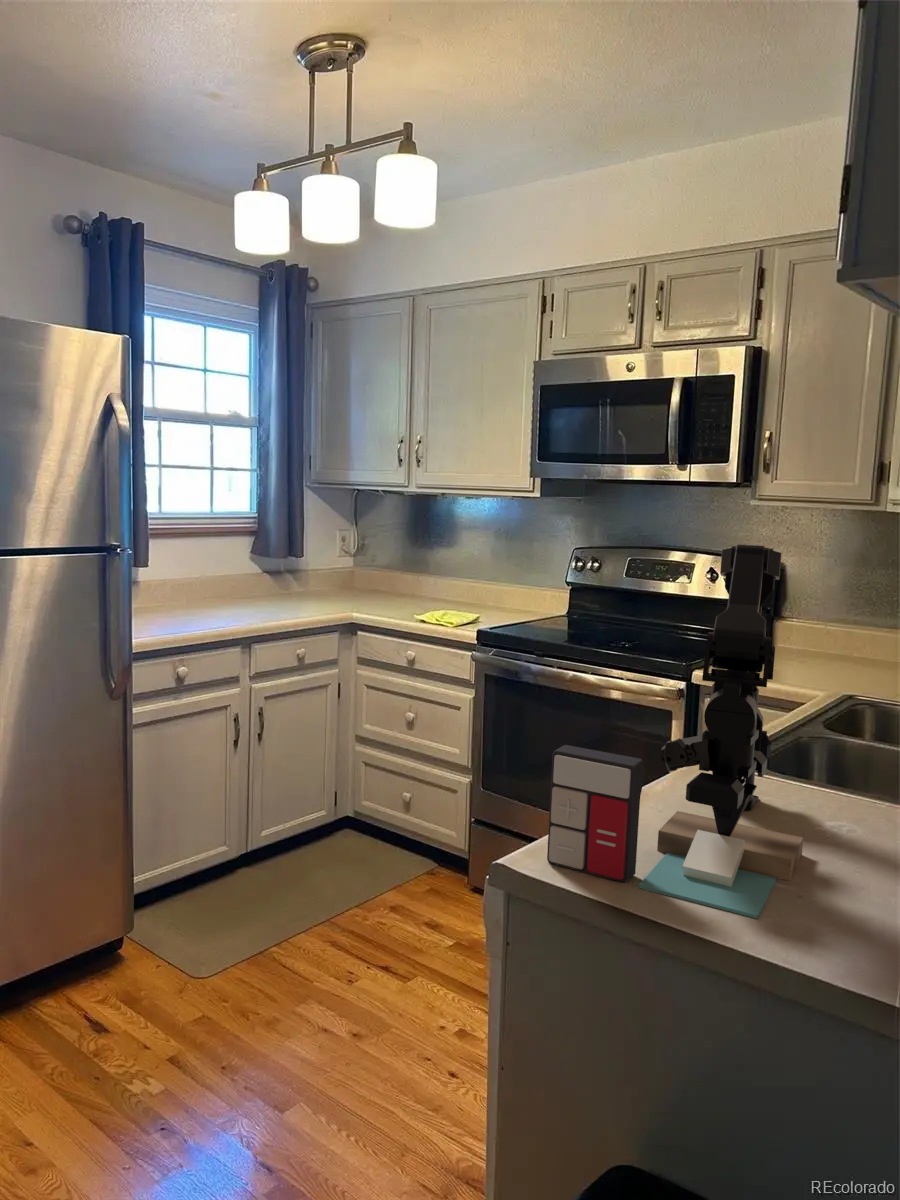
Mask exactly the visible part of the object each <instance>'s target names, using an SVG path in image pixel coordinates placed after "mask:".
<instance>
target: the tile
mask: <svg viewBox="0 0 900 1200" xmlns="http://www.w3.org/2000/svg"><path fill="white" fill-rule="evenodd" d="M744 850H745V840H743V839H738V838H733V837H729V836H724V835H720V834H715V833H711V832H706V831H702V830H697V832H696V835H695V837H694V840H693V842H692V844H691V847H690V849H689V852H688V854H687V856H686V859H685V861H684V864H683V875H685V876H689V877H693V878H697V879H701V880H706V881H710V882H714V883H718V884H722V885H726V886H730V887H732V884H733V881H734V879H735V876H736V873H737V870H738V867H739V864H740V861H741V858H742V856H743V853H744Z"/></svg>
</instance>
